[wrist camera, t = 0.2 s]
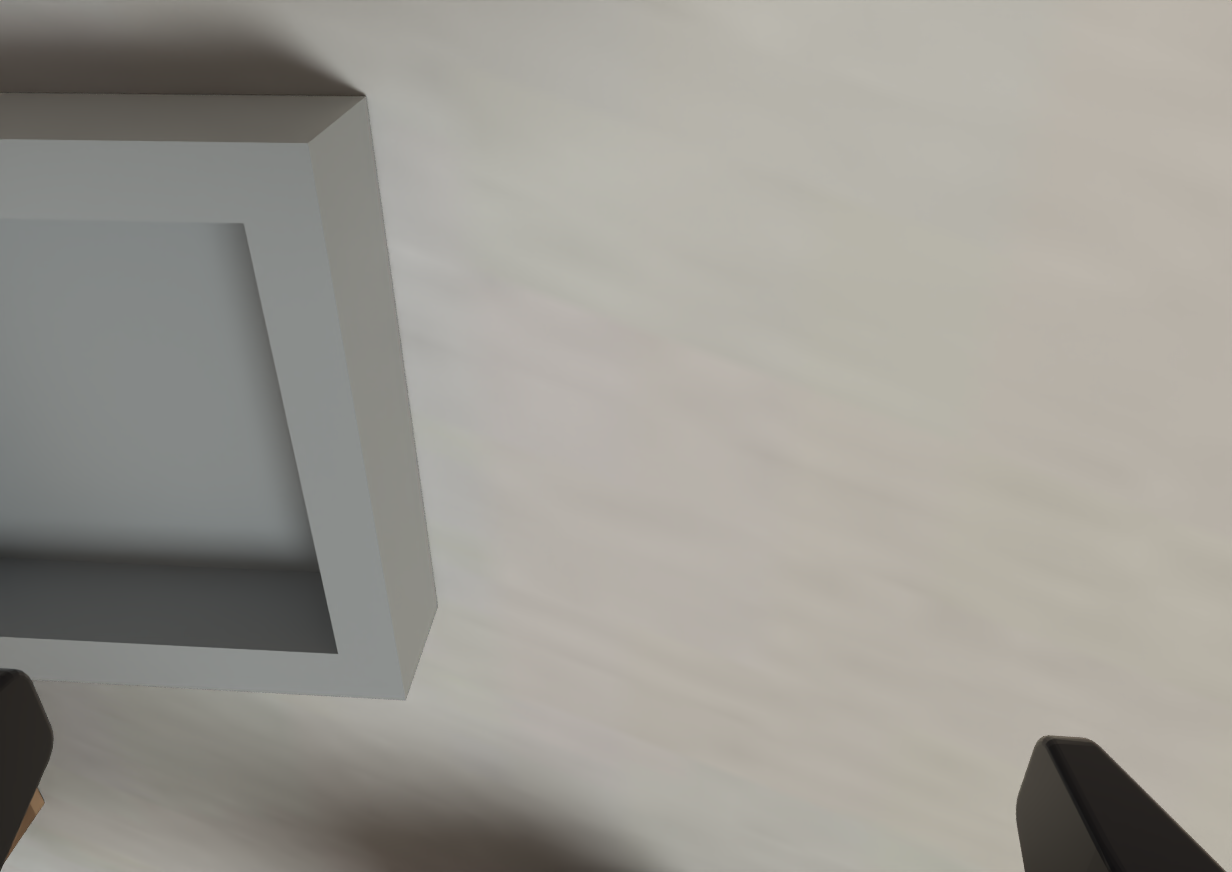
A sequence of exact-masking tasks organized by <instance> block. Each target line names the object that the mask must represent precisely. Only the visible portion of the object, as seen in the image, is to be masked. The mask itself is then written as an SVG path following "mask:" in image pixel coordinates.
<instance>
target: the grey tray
mask: <svg viewBox="0 0 1232 872" xmlns="http://www.w3.org/2000/svg"><path fill="white" fill-rule="evenodd" d="M437 608H438V604H437V597H436V589H435V582H434V575H433V568H432V561H431V554H430V547H429V540H428V532H427V525H426V518H425V511H424V504H423V497H422V490H421V483H420V475H419V468H418V461H417V454H416V447H415V440H414V433H413V426H412V418H411V411H410V404H409V397H408V390H407V383H406V376H405V369H404V361H403V354H402V347H401V340H400V333H399V326H398V319H397V312H396V304H395V297H394V290H393V283H392V276H391V269H390V262H389V255H388V247H387V240H386V233H385V226H384V219H383V212H382V205H381V198H380V190H379V183H378V176H377V169H376V162H375V155H374V148H373V141H372V133H371V126H370V119H369V112H368V105H367V98H366V96H291V95H185V94H80V93H0V668H9V669H18V670H22V671H23V672H24V673H26V674H27V675H28V676H29V677H30V679H31V680H42V681H60V682H79V683H97V684H115V685H134V686H152V687H170V688H189V689H207V690H226V691H244V692H262V693H281V694H299V695H317V696H336V697H354V698H372V699H391V700H406V698H407V695H408V692H409V689H410V686H411V683H412V681H413V678H414V675H415V672H416V669H417V666H418V663H419V660H420V657H421V654H422V651H423V648H424V646H425V643H426V640H427V637H428V634H429V631H430V628H431V625H432V622H433V619H434V616H435V613H436V611H437Z"/></svg>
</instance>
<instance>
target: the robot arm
mask: <svg viewBox="0 0 1232 872" xmlns="http://www.w3.org/2000/svg"><path fill="white" fill-rule="evenodd" d="M52 748H53V730H52V727H51V724H50V722H49V720H48V717H47V715H46V713H45V710H44V708H43V706H42V703H41V701H40V699H39V697H38V694H37V692H36V690H35V687H34V685H33V683H32V681H31V679H30V677H29V676H28V675H27V674H26V673H24V672H23V671H22V670H18V669H9V668H0V871H1V869H2V866H3V864H4V862H5V860H6V857H7V855H8V853H9V850H10V848H11V846H12V844H13V841H14V839H15V837H16V834H17V832H18V830H19V828H20V825H21V823H22V821H23V818H24V816H25V814H26V812H27V809H28V807H29V805H30V802H31V800H32V798H33V796H34V793H35V791H36V789H37V786H38V784H39V782H40V780H41V777H42V775H43V773H44V770H45V768H46V766H47V764H48V761H49V759H50V756H51V752H52ZM1016 821H1017V828H1018V834H1019V840H1020V846H1021V852H1022V857H1023V863H1024V869H1025V872H1226V871H1225V870H1224V869H1223V868H1222V867H1221V866H1220V865H1219V864H1218V863H1217V862H1216V861H1215V860H1214V859H1213V858H1212V857H1211V856H1210V855H1209V854H1208V853H1207V852H1206V851H1205V850H1204V849H1203V848H1202V847H1201V846H1200V845H1199V844H1198V843H1197V842H1196V841H1195V840H1194V839H1193V838H1192V837H1191V836H1190V835H1189V834H1188V833H1187V832H1186V831H1185V830H1184V829H1183V828H1182V827H1181V826H1180V825H1179V824H1178V823H1177V822H1176V821H1175V820H1174V819H1173V818H1172V817H1171V816H1170V815H1169V814H1168V813H1167V812H1166V811H1165V810H1164V809H1163V808H1162V807H1161V806H1160V805H1159V804H1158V803H1157V802H1156V801H1155V800H1154V799H1153V798H1151V797H1150V796H1149V795H1148V794H1147V793H1146V792H1145V791H1144V790H1143V789H1142V788H1141V787H1140V786H1139V785H1138V784H1137V783H1136V782H1135V781H1134V780H1133V779H1132V778H1131V777H1130V776H1129V775H1128V774H1127V773H1126V772H1125V771H1124V770H1123V769H1122V768H1121V767H1120V766H1119V765H1118V764H1117V763H1116V762H1115V761H1114V760H1113V759H1112V758H1111V757H1110V756H1109V755H1108V754H1107V753H1106V752H1105V751H1104V750H1103V749H1102V748H1101V747H1100V746H1099V745H1098V744H1096V743H1095V742H1093V741H1092V740H1089V739H1087V738H1081V737H1066V736H1050V735H1048V736H1043V737H1042V738H1040V739H1039V740H1038V741H1037V743H1036V745H1035V747H1034V750H1033V753H1032V756H1031V758H1030V761H1029V764H1028V767H1027V770H1026V773H1025V776H1024V779H1023V782H1022V785H1021V788H1020V791H1019V794H1018V798H1017V804H1016Z"/></svg>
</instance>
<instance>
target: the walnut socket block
mask: <svg viewBox="0 0 1232 872" xmlns="http://www.w3.org/2000/svg"><path fill="white" fill-rule="evenodd" d="M43 805H44V801H43V799H42V797H41V795H40V793H39V791H38V789H36V791H35V793H34V796H33V798H32V800H31V802H30V805H29V807H28V809H27V812H26V814H25V816H24V818H23V821H22V823H21V825H20V828H19V830H18V832H17V834H16V837H15V839H14V841H13V844H12V846H11V848H10V850H9V853H8V855H7V857H6V860H7V858H8V857H9V855H10V854H11V852H12V851H13V849H14V848H15V846H16V845H17V843H18V842H19V840H20V839H21V837H22V836H23V834H24V833H25V831H26V830H27V828H28V827H29V825H30V824H31V822H32V821H33V819H34V818H35V817H36V815H37V814H38V812H39V811H40V809H41V808H42V806H43ZM6 860H5V861H6Z"/></svg>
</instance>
